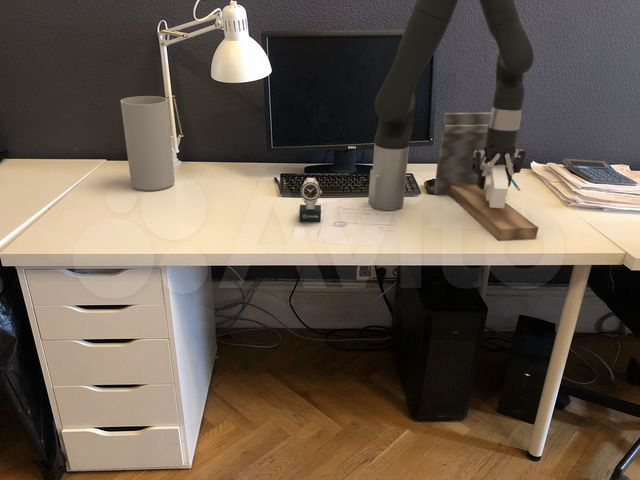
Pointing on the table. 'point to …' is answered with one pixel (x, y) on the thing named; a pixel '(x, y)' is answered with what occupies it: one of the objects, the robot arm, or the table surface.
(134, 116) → the cylinder vase
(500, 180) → the shelf bracket
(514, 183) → the pencil
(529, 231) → the cleat wall board
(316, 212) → the watch
